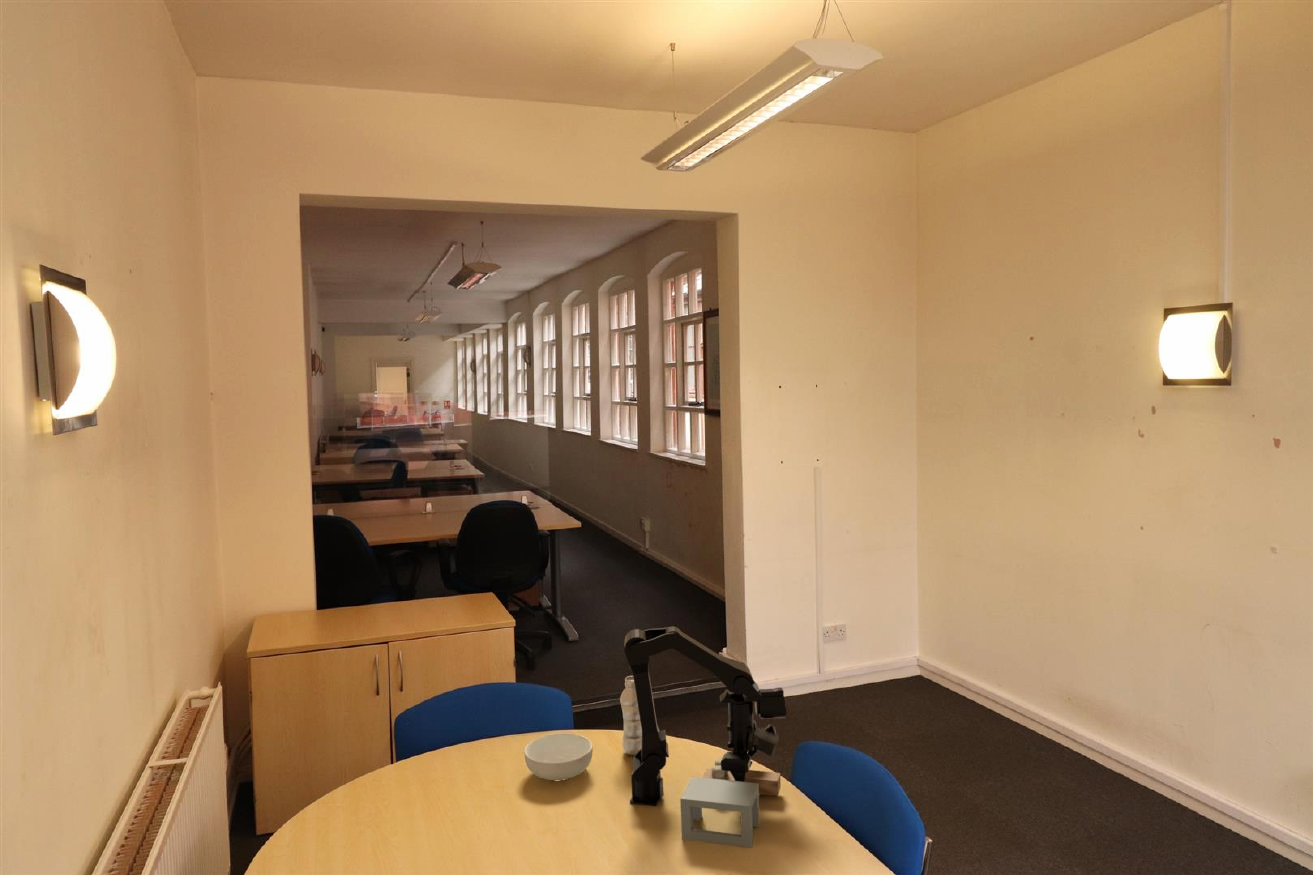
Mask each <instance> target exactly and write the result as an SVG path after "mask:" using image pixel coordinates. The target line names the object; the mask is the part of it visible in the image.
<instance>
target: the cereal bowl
mask: <svg viewBox="0 0 1313 875" xmlns="http://www.w3.org/2000/svg"><path fill="white" fill-rule="evenodd" d="M593 746H594V745H593V743H592V741H591V740H590V739H589V738H587V737H585V736H583V735H581V734H578V733H577V734H576V733H572V732H571V733H568V732H558V733H551V734H545V735H543V736H540V737H537V738H535V739H533V740H531V741H530V742H528V744H526V746H525V748H524V752H523V753H524V760H525V761H524V762H525V764H526V767H527V768H528V770H529V771H530V772H531V773H532V774H533V775H534V776H536V777H537V778H541V779H544V780H548V781H551V780H563V779H567V780H569V779H568V778H570V779H572V778H574V777H576V776H579V775H580V774H581V773H582V772H584V771H586V770H587V768H588V767H589V765H590V763H591V761H592V758H593V752H594V751H593ZM563 781H564V780H563Z"/></svg>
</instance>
